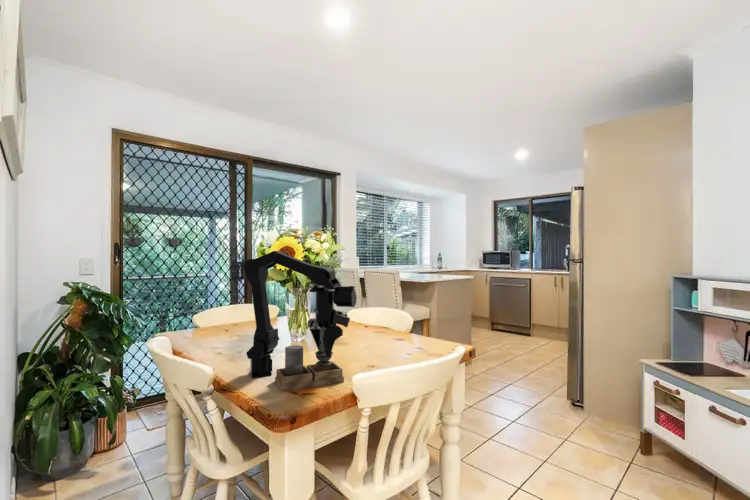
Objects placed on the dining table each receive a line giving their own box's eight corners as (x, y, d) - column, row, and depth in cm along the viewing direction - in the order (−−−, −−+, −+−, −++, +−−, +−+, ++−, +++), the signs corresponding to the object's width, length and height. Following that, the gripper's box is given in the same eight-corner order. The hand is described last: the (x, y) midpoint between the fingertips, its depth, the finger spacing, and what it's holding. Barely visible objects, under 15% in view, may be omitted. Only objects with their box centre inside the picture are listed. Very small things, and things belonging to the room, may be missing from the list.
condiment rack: (281, 391, 113) (281, 353, 113) (274, 381, 122) (275, 345, 122) (344, 381, 121) (344, 346, 122) (333, 372, 130) (333, 339, 131)
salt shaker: (333, 361, 127) (334, 325, 127) (331, 366, 121) (331, 329, 121) (316, 360, 127) (316, 325, 127) (313, 366, 121) (313, 328, 121)
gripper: (358, 308, 119) (357, 357, 119) (337, 301, 136) (337, 344, 136) (324, 310, 114) (324, 362, 114) (307, 302, 131) (307, 347, 131)
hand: (323, 353), depth 124 cm, fingers closed on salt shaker, 8 cm apart
